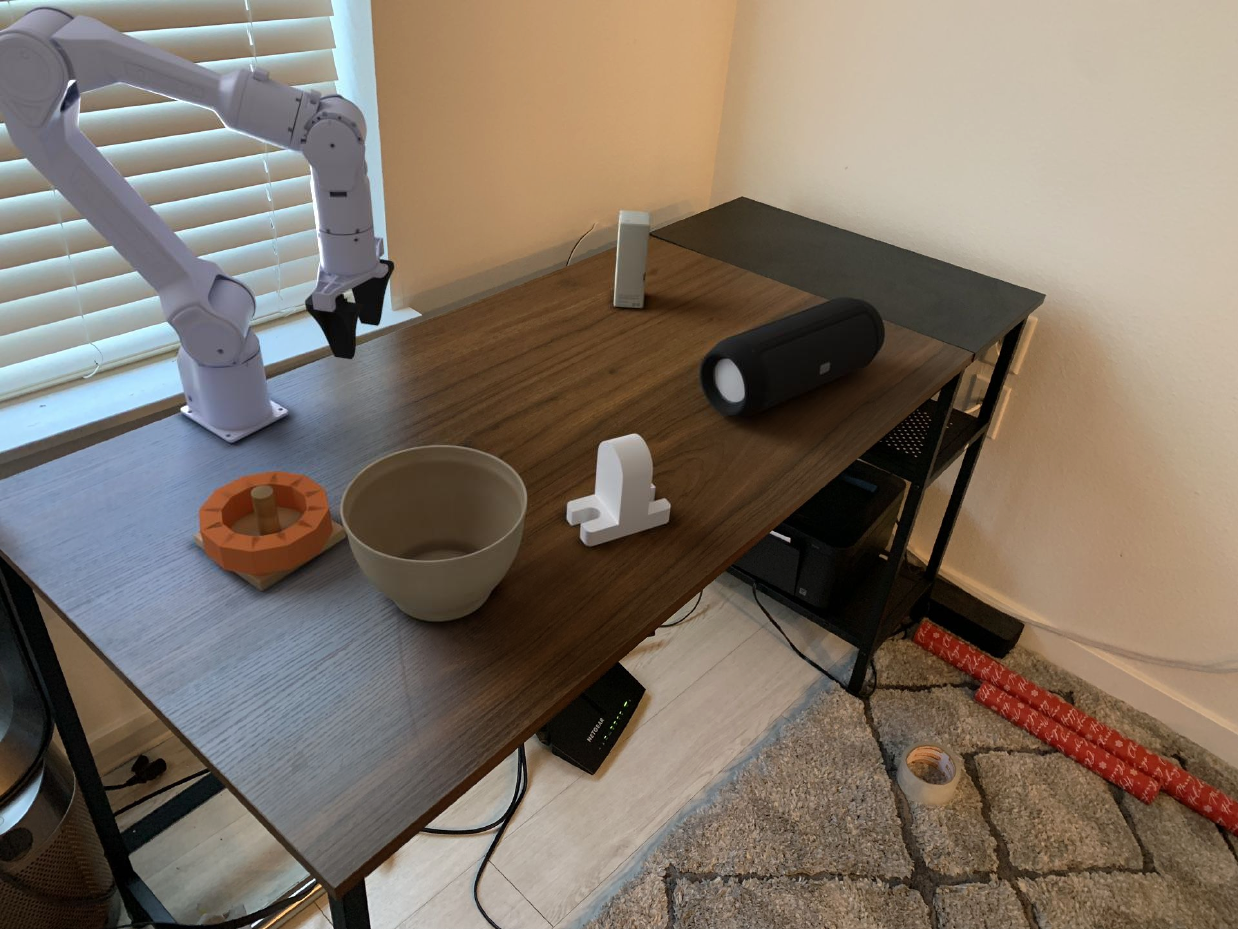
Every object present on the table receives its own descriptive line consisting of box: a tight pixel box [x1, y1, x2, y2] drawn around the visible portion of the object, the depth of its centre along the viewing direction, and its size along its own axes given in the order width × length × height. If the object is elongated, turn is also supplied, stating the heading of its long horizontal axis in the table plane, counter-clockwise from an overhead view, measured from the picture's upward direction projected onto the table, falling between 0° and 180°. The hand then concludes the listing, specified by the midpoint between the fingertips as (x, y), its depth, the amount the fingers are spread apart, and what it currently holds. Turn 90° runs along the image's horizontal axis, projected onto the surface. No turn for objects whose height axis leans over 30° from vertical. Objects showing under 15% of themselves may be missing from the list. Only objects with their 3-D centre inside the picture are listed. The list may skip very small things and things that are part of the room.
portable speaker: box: [699, 296, 886, 418], centre depth 119 cm, size 26×10×10 cm, turn 129°
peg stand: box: [193, 485, 347, 592], centre depth 91 cm, size 10×10×6 cm
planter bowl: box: [339, 444, 528, 622], centre depth 86 cm, size 16×16×11 cm
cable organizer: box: [566, 433, 671, 547], centre depth 96 cm, size 5×10×10 cm, turn 119°
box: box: [613, 209, 651, 309], centre depth 135 cm, size 5×4×13 cm
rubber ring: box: [198, 470, 333, 575], centre depth 91 cm, size 12×12×3 cm
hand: (357, 339), depth 105 cm, fingers open, 7 cm apart
